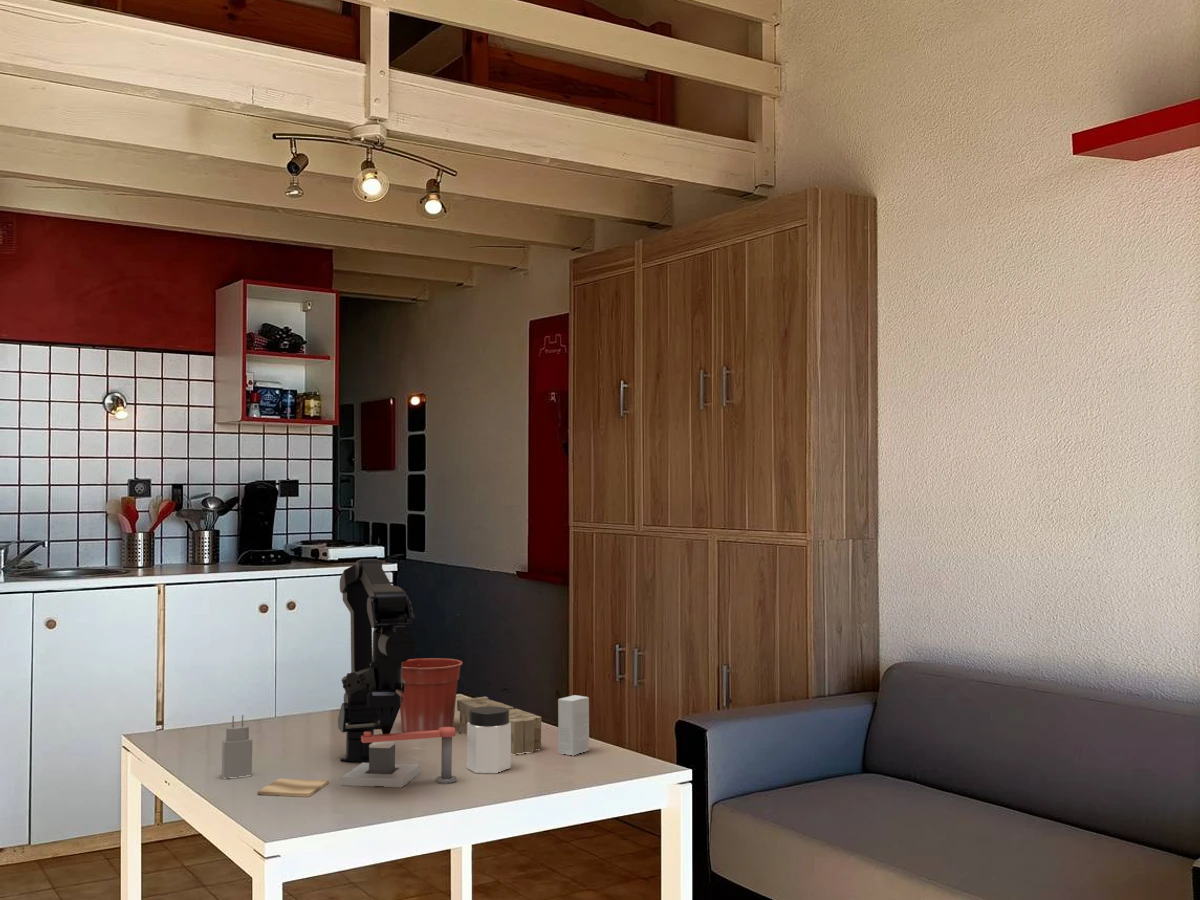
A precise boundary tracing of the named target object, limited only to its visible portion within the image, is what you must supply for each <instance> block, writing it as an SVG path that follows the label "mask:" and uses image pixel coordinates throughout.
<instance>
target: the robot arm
mask: <svg viewBox="0 0 1200 900" xmlns="http://www.w3.org/2000/svg"><path fill="white" fill-rule="evenodd" d="M339 592H340V594H342V602H343V604H344V605H345V607H346V608H347V610H348V611H349V614H350V672H347V673H346V675H345V676H343V677H342V678H341V684H342V688H343V689H344V694H343V702H342V703H341V705H340V710H339V713H338V717H337V727H338V728H337V729H338V730H339V731H340V732H341V733H345V746H346V747H345V755H343V756H342V757H340V758H339V761H340V762H358V763H359V762H361V763H369V745H370V744H371V743H373V742H370V743H363V742H362V741H361V736H363V735H364V732H365V731H371V735H375V730H379V731H380V730H381V734H390V733H391V731H392V729H393V727H394V724H395V722H396V719H397V717H398V714H399V711H400V706H401V704H402V700H403V697H401V693H404V692H405V680H404V679H403V678H402V665H403V662H405V661H407V660H410V659H412V657H413V656H414V654H415V652H416V642H415V639H414V638H413V636H412V635H411V634H410V633H408V632H406V630H407V629H406V628H409V627H410V628H412V627H414V621H415V613H414V610H413V609H414V608H413V606H412V602H411V600H410V598H409V596H408V595H407V594H406V591H405V590H404V589H403V588H401V587H400V586H397V585H393V584H392V583H391V581H390V580H389V578H388V576H387V574H386V572H385V570H384V569H383V561H382V560H380V559H377V558H376V559H375V558H374V559H373V558H371V559H368V558H367V559H359V560H356V562H355V564H353V565H351V566H350V567H348V568H346V569H344V570H343V572H342V573H341V576H340V578H339ZM399 690H401V693H400V692H399Z"/></svg>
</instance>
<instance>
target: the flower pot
mask: <svg viewBox="0 0 1200 900" xmlns="http://www.w3.org/2000/svg"><path fill="white" fill-rule="evenodd" d="M462 665H463V661H462V660H459V659H455V658H444V657H443V658H439V657H437V658H434V657H431V658H414V659H413V658H410V659H409V660H407V661H405V662H403V665H402V678H403V679H404V680H405V692H404V693H401V690H398V691H399V692H400V693H401V697H403V700H402V704H401V706H400V709H399V711H400V712H399V713H400V723H401V731H402V733H404V732H418V731H432V730H439V728H441V727H454V722H455V712H456V703H457V689H458V681H459V680H460V674H461V672H460V671H461V666H462Z"/></svg>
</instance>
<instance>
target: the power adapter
mask: <svg viewBox="0 0 1200 900" xmlns="http://www.w3.org/2000/svg"><path fill="white" fill-rule="evenodd" d="M231 721H232V723H231V724H232V725H231V726H229V727H226V730H225V731H226V732H225V734H226V736H225V739H222V740H221V741H222V742H221V745H222V748H221V777H222V776H223V777H225V778H229V777H239V776H246V775H252V776H253V738H252V737H249V736H250V726H248V725H244V714H242V715H241V725H238V726H235V716H234V715H232V720H231Z"/></svg>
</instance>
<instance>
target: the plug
mask: <svg viewBox="0 0 1200 900" xmlns="http://www.w3.org/2000/svg"><path fill="white" fill-rule="evenodd" d="M368 763H369V774H392V773H394V772H395V764H396V741H383V742H373V743H371V744H370V745H369V762H368Z"/></svg>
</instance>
